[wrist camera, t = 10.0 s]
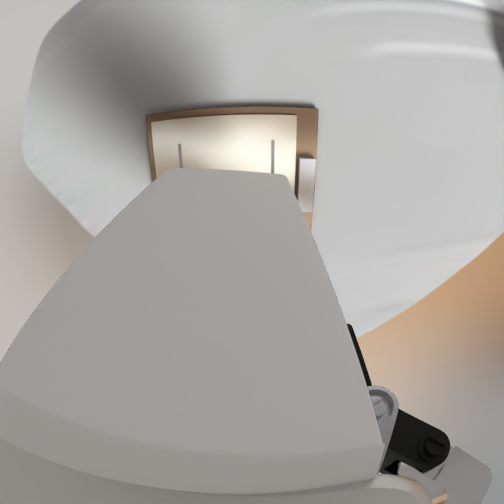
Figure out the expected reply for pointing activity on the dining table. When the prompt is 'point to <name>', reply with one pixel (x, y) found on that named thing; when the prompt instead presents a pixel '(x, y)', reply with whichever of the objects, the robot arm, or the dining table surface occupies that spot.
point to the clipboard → (240, 144)
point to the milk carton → (196, 349)
